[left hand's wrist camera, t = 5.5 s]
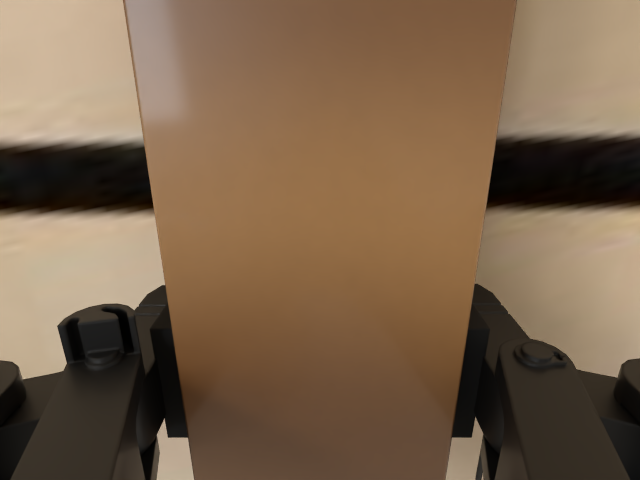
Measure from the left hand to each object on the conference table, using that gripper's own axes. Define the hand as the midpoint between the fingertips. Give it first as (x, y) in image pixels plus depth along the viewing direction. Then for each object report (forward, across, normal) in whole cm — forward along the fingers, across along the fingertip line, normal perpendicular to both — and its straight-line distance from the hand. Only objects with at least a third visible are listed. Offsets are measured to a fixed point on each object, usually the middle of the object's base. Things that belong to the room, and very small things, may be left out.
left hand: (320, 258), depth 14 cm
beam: (+1, 0, -35) cm, 35 cm away
